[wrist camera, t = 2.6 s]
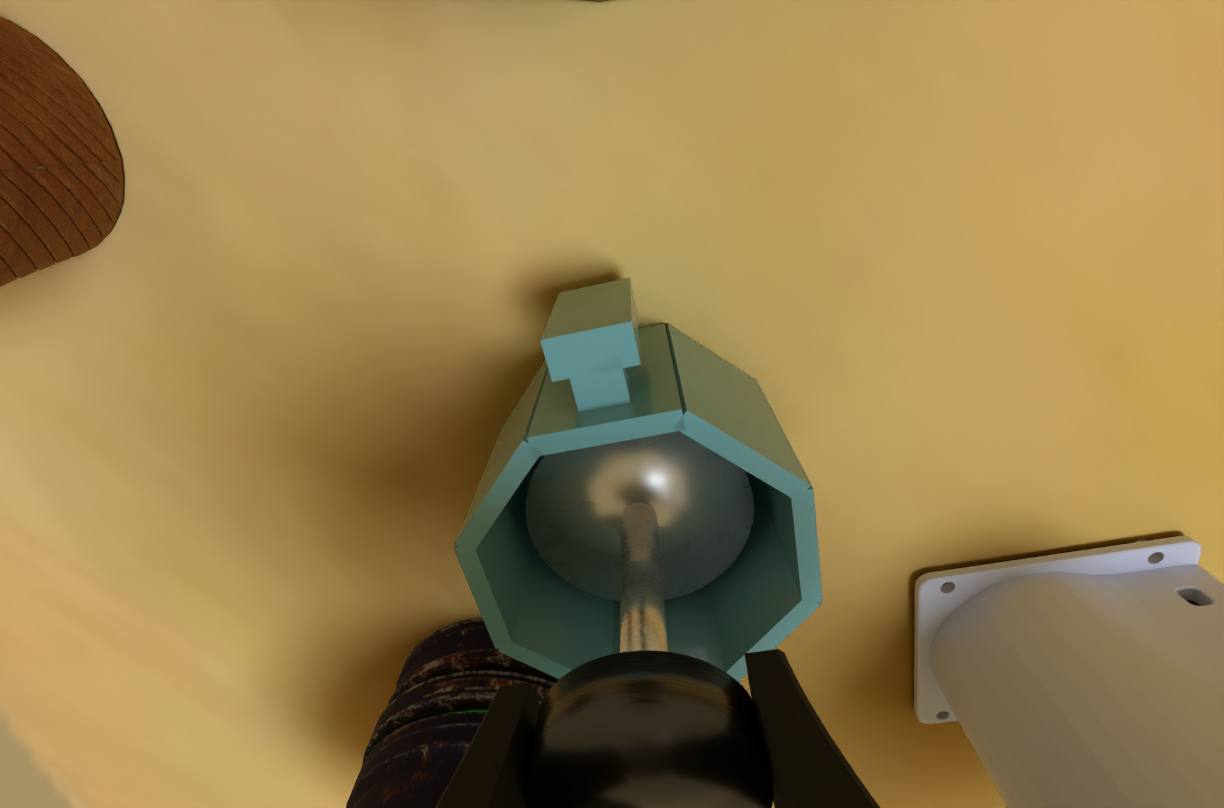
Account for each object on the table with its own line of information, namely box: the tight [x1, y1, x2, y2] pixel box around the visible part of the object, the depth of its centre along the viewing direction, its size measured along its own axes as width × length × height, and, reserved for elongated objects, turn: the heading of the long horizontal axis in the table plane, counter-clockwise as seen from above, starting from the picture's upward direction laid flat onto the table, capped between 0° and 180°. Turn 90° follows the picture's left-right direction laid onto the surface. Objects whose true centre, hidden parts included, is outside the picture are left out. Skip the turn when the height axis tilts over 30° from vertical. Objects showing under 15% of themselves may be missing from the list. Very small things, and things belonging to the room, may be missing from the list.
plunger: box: [525, 431, 774, 808], centre depth 13 cm, size 6×6×8 cm
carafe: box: [454, 278, 823, 682], centre depth 16 cm, size 8×10×6 cm
